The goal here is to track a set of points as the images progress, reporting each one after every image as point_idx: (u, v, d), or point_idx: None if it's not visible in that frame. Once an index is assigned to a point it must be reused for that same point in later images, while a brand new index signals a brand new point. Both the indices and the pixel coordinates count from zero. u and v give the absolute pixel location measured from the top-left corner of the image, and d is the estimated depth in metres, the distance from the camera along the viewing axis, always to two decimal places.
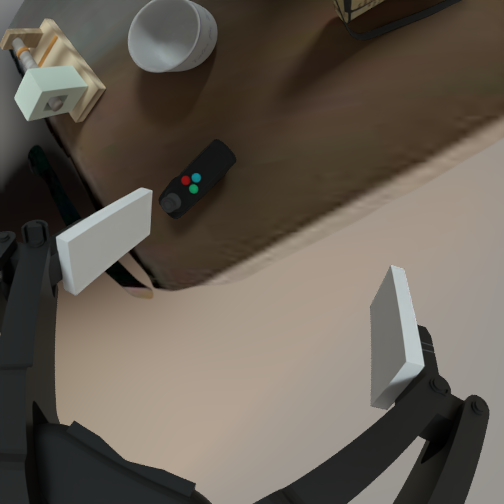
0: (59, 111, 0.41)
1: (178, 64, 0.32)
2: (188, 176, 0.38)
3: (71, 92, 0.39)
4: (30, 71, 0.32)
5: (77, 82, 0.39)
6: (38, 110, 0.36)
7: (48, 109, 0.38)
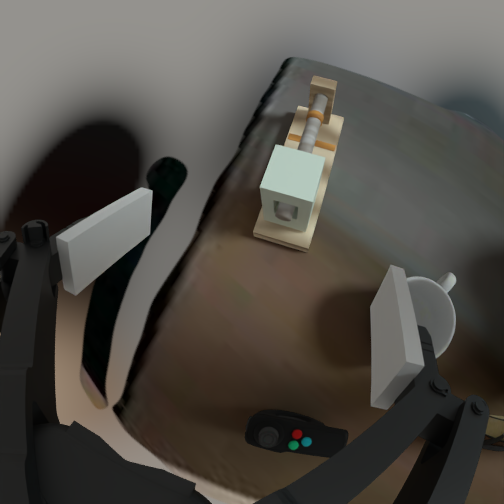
0: (268, 212, 0.41)
1: None
2: (302, 433, 0.31)
3: (299, 221, 0.40)
4: (323, 163, 0.35)
5: None
6: (277, 197, 0.35)
7: (274, 203, 0.38)
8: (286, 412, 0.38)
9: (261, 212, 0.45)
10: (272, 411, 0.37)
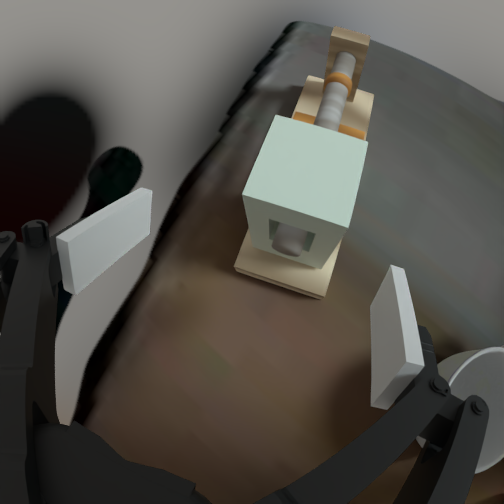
0: (259, 237, 0.23)
1: None
2: None
3: (313, 255, 0.23)
4: (365, 152, 0.18)
5: None
6: (276, 214, 0.18)
7: (270, 223, 0.21)
8: None
9: (248, 233, 0.28)
10: None
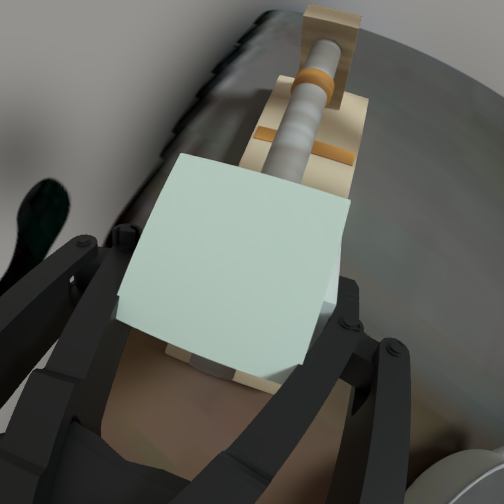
0: None
1: None
2: None
3: None
4: (344, 221, 0.10)
5: None
6: None
7: None
8: None
9: None
10: None
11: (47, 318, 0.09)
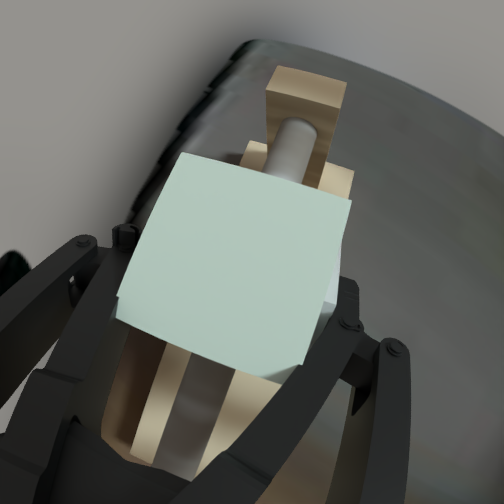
0: None
1: None
2: None
3: None
4: (345, 222, 0.10)
5: None
6: None
7: None
8: None
9: (144, 418, 0.18)
10: None
11: (47, 318, 0.09)
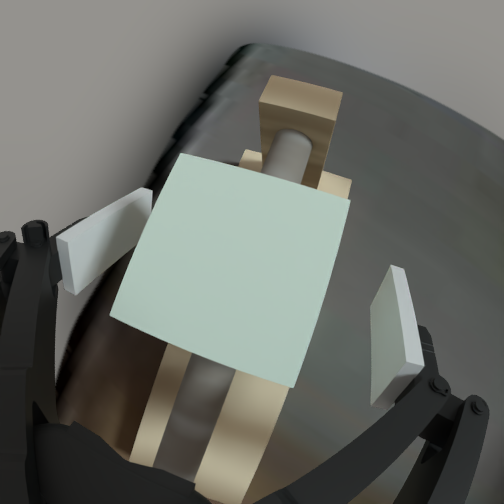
0: None
1: None
2: None
3: None
4: (344, 221, 0.10)
5: None
6: None
7: None
8: None
9: (142, 429, 0.17)
10: None
11: None
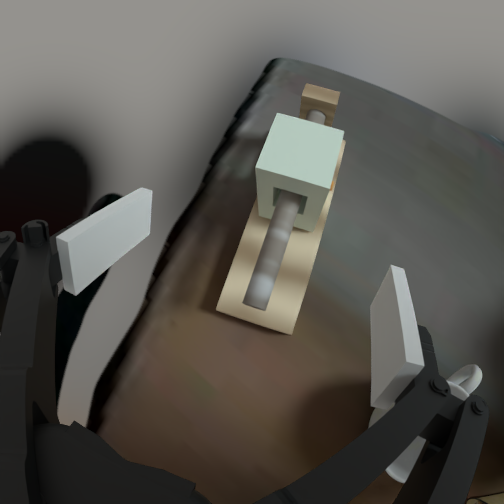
0: (264, 204, 0.30)
1: (401, 481, 0.21)
2: None
3: (306, 218, 0.30)
4: (342, 138, 0.25)
5: None
6: (279, 182, 0.25)
7: (273, 192, 0.28)
8: None
9: (227, 281, 0.32)
10: None
11: None
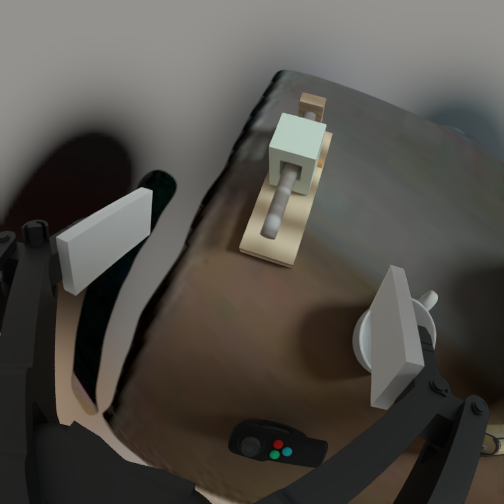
0: (274, 174, 0.44)
1: None
2: (283, 443, 0.32)
3: (302, 183, 0.43)
4: None
5: None
6: (284, 156, 0.39)
7: (280, 164, 0.41)
8: (269, 422, 0.39)
9: (247, 228, 0.46)
10: (255, 421, 0.38)
11: None
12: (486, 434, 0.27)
